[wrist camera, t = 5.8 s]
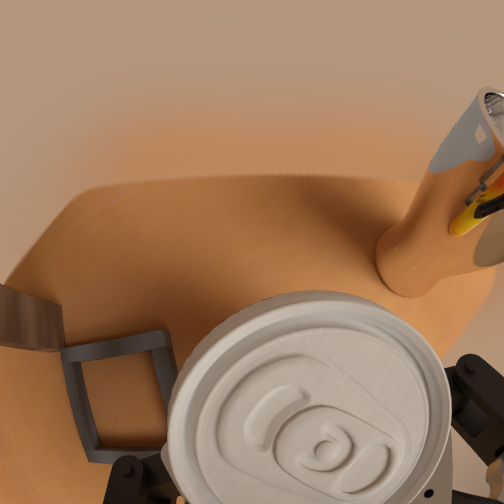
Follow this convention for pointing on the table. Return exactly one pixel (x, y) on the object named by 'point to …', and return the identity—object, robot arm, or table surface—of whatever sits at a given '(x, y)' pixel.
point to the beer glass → (452, 207)
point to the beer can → (309, 406)
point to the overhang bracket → (52, 339)
